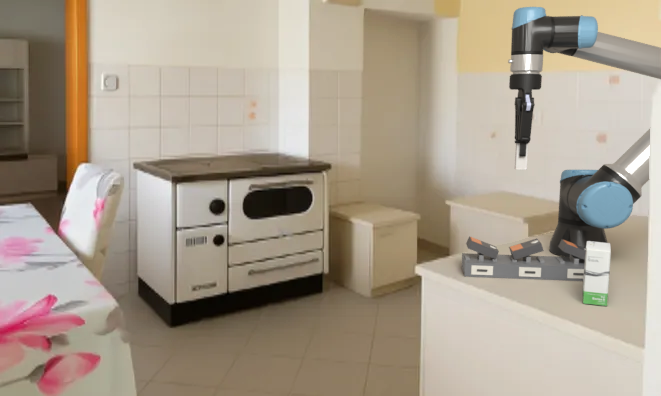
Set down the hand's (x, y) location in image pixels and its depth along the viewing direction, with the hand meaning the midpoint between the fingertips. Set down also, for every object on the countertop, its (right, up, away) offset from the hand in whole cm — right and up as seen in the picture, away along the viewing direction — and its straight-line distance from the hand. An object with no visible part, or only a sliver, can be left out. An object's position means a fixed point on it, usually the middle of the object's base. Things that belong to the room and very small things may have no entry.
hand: (520, 169), depth 157 cm
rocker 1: (-11, -20, -4) cm, 23 cm away
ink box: (+8, -29, -24) cm, 38 cm away
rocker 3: (+11, -21, -7) cm, 24 cm away
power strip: (0, -26, -5) cm, 26 cm away
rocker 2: (0, -20, -6) cm, 21 cm away
